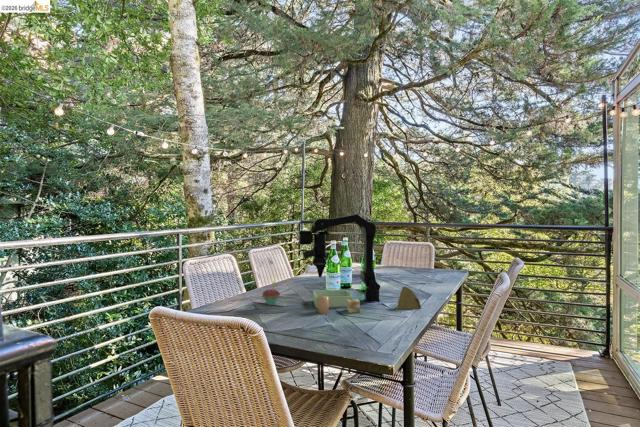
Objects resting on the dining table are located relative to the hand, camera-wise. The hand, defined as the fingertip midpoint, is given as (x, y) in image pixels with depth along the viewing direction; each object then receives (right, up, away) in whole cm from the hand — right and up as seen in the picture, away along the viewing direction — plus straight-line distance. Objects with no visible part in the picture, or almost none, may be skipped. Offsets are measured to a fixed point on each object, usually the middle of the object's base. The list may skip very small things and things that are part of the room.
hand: (320, 275), depth 201 cm
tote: (+6, -14, 0) cm, 15 cm away
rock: (+42, -14, -9) cm, 45 cm away
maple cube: (+15, -15, -13) cm, 25 cm away
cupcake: (-24, -14, +1) cm, 28 cm away
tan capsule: (+1, -15, -15) cm, 21 cm away
